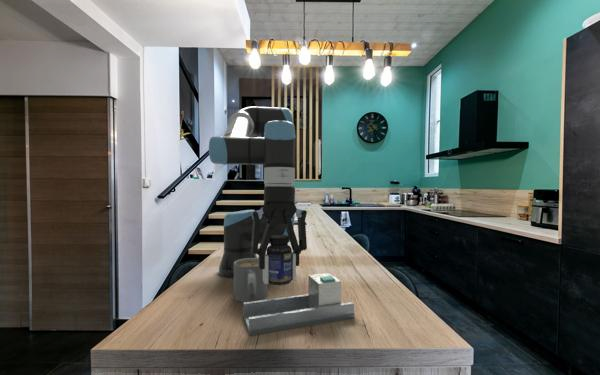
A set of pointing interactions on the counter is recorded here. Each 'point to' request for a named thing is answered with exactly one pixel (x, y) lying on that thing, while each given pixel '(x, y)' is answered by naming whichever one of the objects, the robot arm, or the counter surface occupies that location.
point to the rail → (299, 308)
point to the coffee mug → (248, 280)
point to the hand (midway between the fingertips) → (279, 280)
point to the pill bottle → (279, 260)
